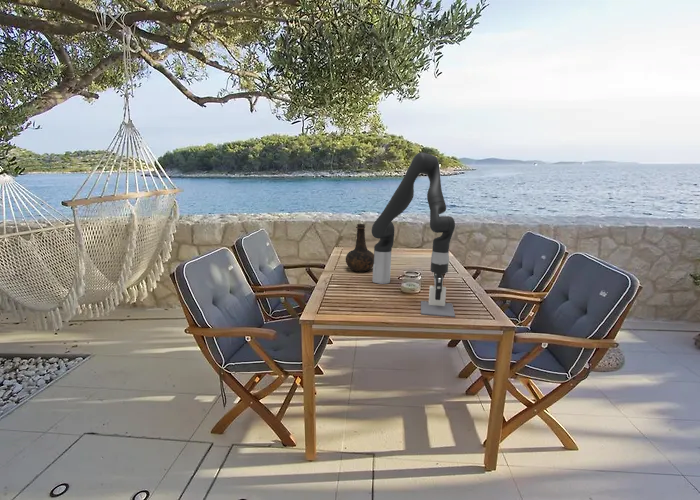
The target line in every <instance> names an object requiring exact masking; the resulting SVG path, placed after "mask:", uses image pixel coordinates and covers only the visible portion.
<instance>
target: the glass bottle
mask: <svg viewBox="0 0 700 500" xmlns="http://www.w3.org/2000/svg"><path fill="white" fill-rule="evenodd" d="M355 228H356V230H357V232H356V240H355V247H354V249H352V250H349V252H348V253H347V254H346V256H345V264H346V265H347V266H348V268H349V269H350V270H352V271H354V272H358V271H359V272H360V273H361V272H362V273H364V272H368V271H369V270H371V269H373V265H374V252H372V251H370V250H368V248H367V244H366V234H365V233H366V230H365V228H366V225H365V224H364V223H357V225H356V227H355ZM363 271H364V272H363Z"/></svg>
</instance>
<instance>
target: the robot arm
mask: <svg viewBox="0 0 700 500" xmlns="http://www.w3.org/2000/svg"><path fill="white" fill-rule="evenodd" d="M412 158H413V159H411V161H410V164H409V166H408V168H407V169H406V170H407V171H406V172H405V175H404V177H402V180H401V182H400V184H399V185H398V187H397V188H396V190H395V191H394V192H393V194H392V196H391V198H390V200H389V202H388V203H387V205H386V206H385V207H384V209H383V210H382V212H381V213H380V215H379V216H378V217H377V218H376V220H375V221H374V223H373V224H372V226H371V234H372V237H373V238H375V239H378V242H377V243H375V244H374V247H373V254H374V265H373V267H372V283H375V284H381V285H382V284H383V285H386V284H387V285H388V284H390V282H391V268H392V267H391V266H392V248H393V245H394V242H395V241H394V240H395V225H394V223H393V221H394V220H395V219H396V218H397V217H398V216H400V215H401V214H402V213H404V212H405V210H407V209H408V207H409V205H410V204H411V202H412V201H413V198H414V195H415V194H414V193H415V191H414V190H415V187H414V185H415V182H416V180H417V178H418V177H419V175H420V174H421V175H427V177H428V180H429V187H428V190H427V194H426V199H427V203H428V207H429V228H430V229H431V231H432V232H433V233H435V234H437V233H438V234H439V233H441V235H440V236H438V237H435V238H434V239H433V240H432V253H431V257H430V258H431V259H430V272H431V273H433V274H434V276H433V283H434V285H433V286H435V287H436V289H435V291H436V293H435V299H436V300H440V297H441V292H442V286H443V287H444V285H443V282H444V274H447V273H448V272H449V263H450V262H449V261H450V243H451V240H452V237H453V234H454V231H455V228H456V222H455V221H456V220H455V219H454V218H453V217H452V216H449V215H445V216H442V215H441V214H444V213H445V212H446V211H447V204H446V201H445V197H444V195H443V190H442V184H441V182H442V181H441V174H440V173H441V171H440V163H439V160H438V158H437V156H435V155H433V154H430V153H426V152H418V153H416V154H415V156H414V157H412ZM437 287H440V289H437Z"/></svg>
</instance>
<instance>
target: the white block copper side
mask: <svg viewBox="0 0 700 500" xmlns="http://www.w3.org/2000/svg"><path fill="white" fill-rule="evenodd" d="M435 289H436V287H435V285H429V292H428V294H429V295H428V302H429V305H436V306H445V303H446V298H447V297H446V296H447V286H444V285H443V286H442V292H441V297H440V300H436V299H435V293H436V291H435ZM437 289H440V287H437Z"/></svg>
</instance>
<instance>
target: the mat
mask: <svg viewBox="0 0 700 500" xmlns="http://www.w3.org/2000/svg"><path fill="white" fill-rule="evenodd" d="M420 315H423V316H434V317H435V316H438V317H445V316H451V317H450V318H456V314H455V310H454V305H453V303H451V302H450V303H449V302H445V306H436V305H429V300H428V301H425V300H420Z"/></svg>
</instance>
